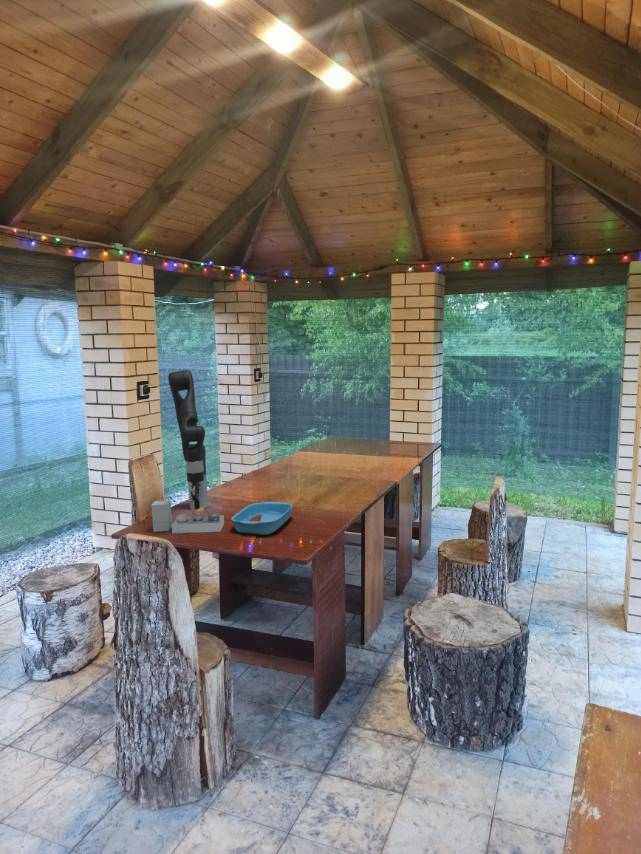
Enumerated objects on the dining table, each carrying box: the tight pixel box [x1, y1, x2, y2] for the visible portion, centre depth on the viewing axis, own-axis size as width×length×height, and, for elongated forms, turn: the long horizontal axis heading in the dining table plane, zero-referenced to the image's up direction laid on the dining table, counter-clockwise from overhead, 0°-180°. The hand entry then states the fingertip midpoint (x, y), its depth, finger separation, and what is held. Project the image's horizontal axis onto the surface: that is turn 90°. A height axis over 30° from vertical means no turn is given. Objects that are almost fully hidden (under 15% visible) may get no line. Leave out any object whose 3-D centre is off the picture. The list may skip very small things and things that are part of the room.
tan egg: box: [191, 507, 205, 521], centre depth 263 cm, size 5×5×7 cm
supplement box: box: [150, 499, 173, 533], centre depth 267 cm, size 7×7×13 cm
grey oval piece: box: [175, 513, 189, 522], centre depth 263 cm, size 5×5×7 cm
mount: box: [171, 514, 225, 534], centre depth 264 cm, size 12×21×5 cm, turn 91°
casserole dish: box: [231, 501, 293, 536], centre depth 268 cm, size 37×22×7 cm, turn 166°
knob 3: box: [207, 512, 221, 520], centre depth 264 cm, size 5×5×7 cm
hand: (197, 508), depth 263 cm, fingers closed
